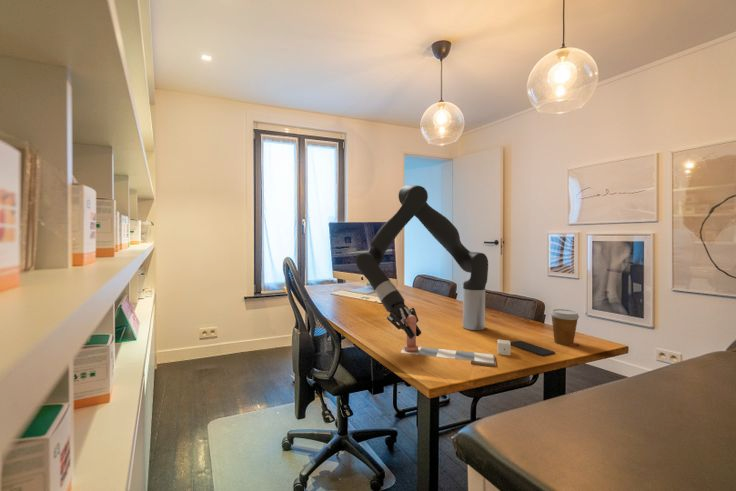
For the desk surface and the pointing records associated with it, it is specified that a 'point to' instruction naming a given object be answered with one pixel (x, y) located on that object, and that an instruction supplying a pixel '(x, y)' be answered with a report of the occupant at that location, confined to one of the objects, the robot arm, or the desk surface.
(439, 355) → the board
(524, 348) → the phone
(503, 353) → the die
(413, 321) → the pawn
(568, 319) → the disposable coffee cup
